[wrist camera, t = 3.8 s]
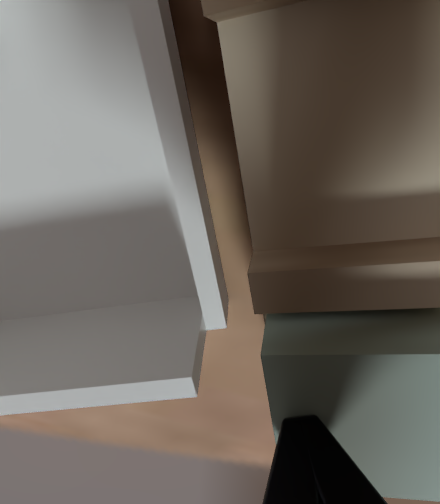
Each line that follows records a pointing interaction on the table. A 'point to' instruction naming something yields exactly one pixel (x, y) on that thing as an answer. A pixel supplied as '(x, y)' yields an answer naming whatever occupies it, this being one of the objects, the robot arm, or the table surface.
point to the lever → (345, 219)
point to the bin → (100, 210)
